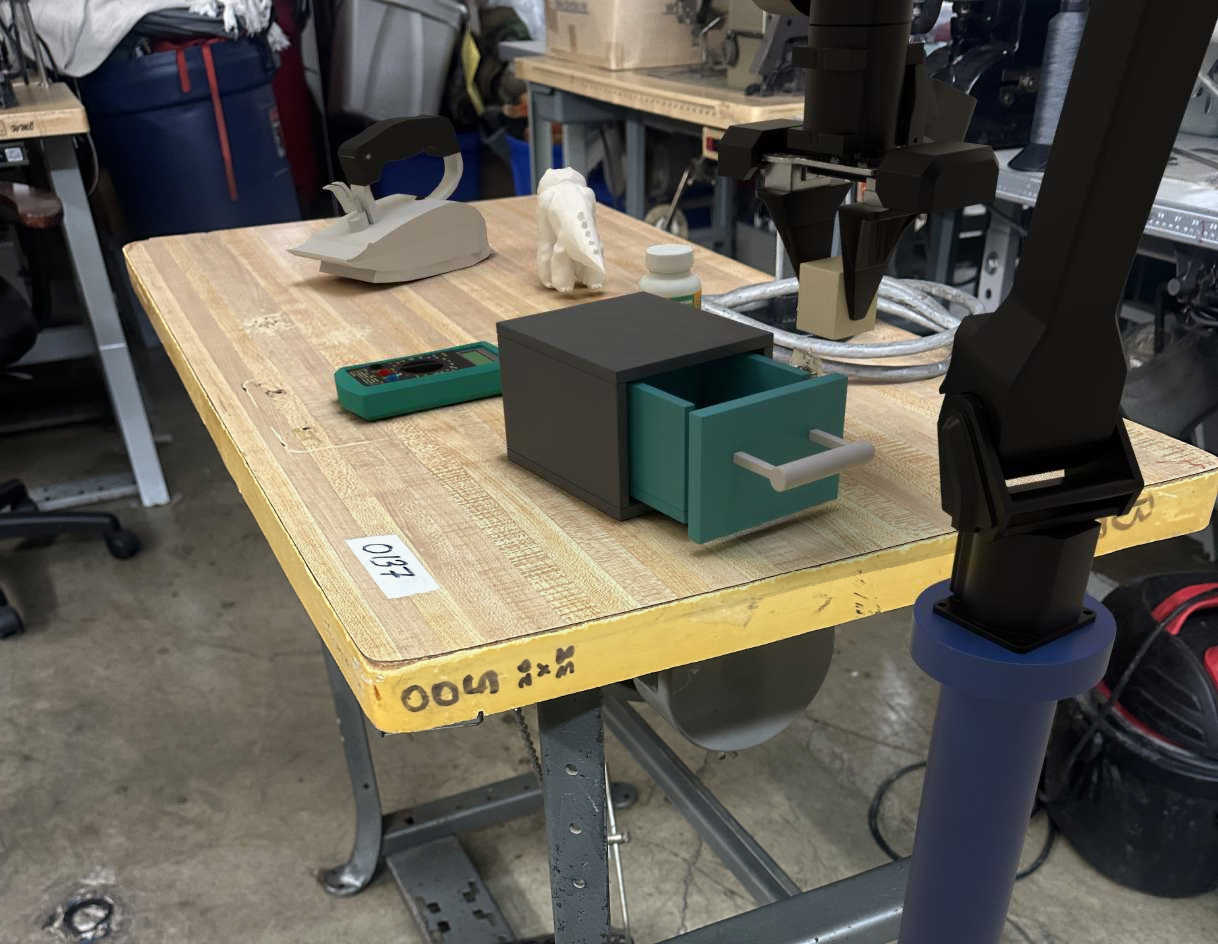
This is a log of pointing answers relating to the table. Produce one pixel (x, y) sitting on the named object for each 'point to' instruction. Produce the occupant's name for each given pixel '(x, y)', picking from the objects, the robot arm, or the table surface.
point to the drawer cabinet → (599, 384)
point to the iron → (398, 210)
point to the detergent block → (828, 301)
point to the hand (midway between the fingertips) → (836, 313)
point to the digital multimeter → (420, 381)
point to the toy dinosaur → (568, 232)
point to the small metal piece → (806, 362)
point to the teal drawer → (737, 442)
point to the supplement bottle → (672, 274)
